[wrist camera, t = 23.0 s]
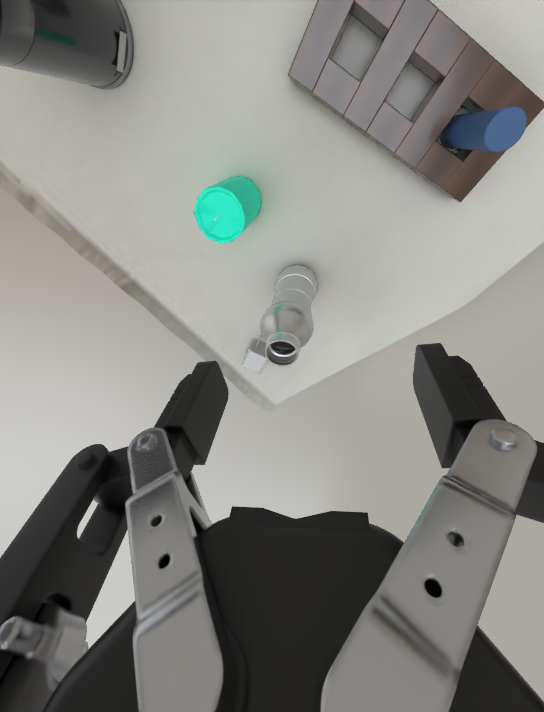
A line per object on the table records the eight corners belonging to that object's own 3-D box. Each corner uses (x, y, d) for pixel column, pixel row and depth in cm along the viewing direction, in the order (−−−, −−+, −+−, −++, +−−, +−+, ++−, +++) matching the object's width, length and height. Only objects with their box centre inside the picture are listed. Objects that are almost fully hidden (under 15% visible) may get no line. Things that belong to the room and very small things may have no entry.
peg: (434, 138, 34) (475, 139, 24) (456, 108, 32) (509, 97, 23) (453, 153, 34) (501, 160, 25) (475, 124, 33) (536, 120, 23)
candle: (249, 167, 38) (224, 177, 29) (268, 212, 41) (251, 235, 32) (212, 187, 41) (178, 203, 31) (233, 229, 44) (207, 255, 34)
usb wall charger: (245, 354, 58) (241, 366, 55) (258, 328, 54) (254, 340, 50) (264, 361, 58) (260, 374, 55) (277, 336, 54) (274, 349, 51)
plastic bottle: (320, 295, 48) (317, 373, 32) (281, 301, 50) (260, 378, 34) (314, 257, 44) (307, 324, 29) (272, 265, 46) (243, 332, 30)
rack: (290, 80, 33) (287, 75, 30) (345, -52, 27) (347, -73, 24) (450, 197, 37) (460, 202, 34) (527, 107, 31) (547, 104, 28)
